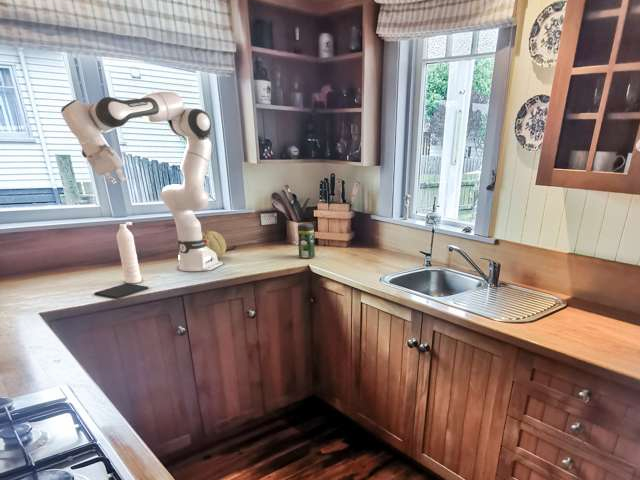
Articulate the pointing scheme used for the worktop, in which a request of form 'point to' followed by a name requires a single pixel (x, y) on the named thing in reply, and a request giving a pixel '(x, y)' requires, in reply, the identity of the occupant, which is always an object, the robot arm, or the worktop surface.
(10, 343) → the worktop surface
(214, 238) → the ribbed yellow melon
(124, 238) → the water bottle
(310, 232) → the pickle jar
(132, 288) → the mat
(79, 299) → the worktop surface
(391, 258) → the worktop surface
